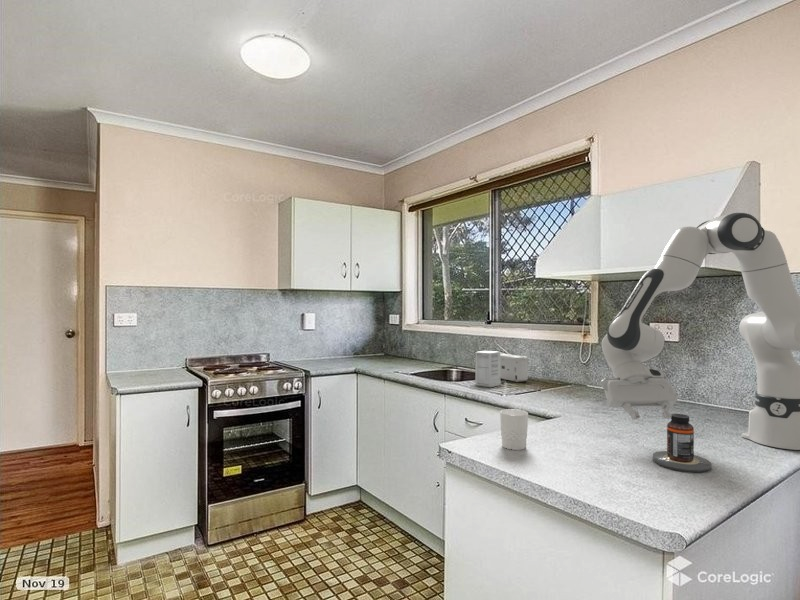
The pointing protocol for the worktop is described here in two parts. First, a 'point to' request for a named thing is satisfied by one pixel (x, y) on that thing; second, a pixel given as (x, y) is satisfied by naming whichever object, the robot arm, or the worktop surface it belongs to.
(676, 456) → the supplement bottle
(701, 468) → the grey flat disc
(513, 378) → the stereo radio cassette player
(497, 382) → the supplement box
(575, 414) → the worktop surface
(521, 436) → the white cup
